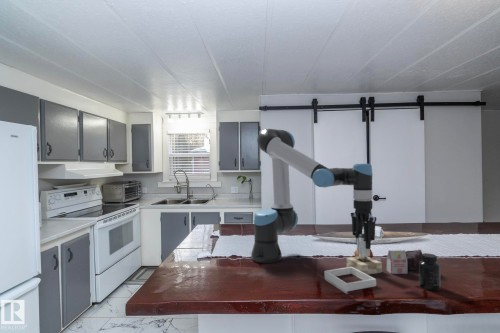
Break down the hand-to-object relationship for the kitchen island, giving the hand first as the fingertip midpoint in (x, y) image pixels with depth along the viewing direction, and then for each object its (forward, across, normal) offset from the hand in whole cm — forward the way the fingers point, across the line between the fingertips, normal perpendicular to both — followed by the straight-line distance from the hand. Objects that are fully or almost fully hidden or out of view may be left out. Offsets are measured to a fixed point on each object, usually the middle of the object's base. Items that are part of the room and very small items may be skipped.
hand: (363, 254), depth 124 cm
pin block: (+7, 0, 0) cm, 7 cm away
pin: (+6, 0, 0) cm, 6 cm away
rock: (+8, -6, -20) cm, 23 cm away
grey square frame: (+7, -8, +13) cm, 17 cm away
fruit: (+8, +11, -9) cm, 16 cm away
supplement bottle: (+8, -21, -12) cm, 26 cm away
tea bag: (+8, -7, -11) cm, 15 cm away
